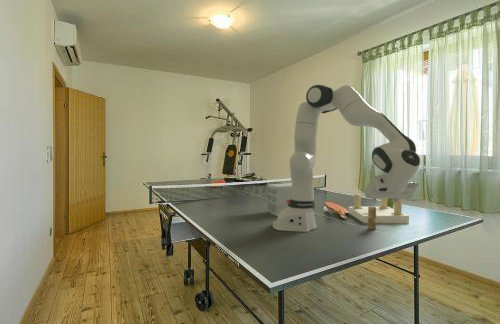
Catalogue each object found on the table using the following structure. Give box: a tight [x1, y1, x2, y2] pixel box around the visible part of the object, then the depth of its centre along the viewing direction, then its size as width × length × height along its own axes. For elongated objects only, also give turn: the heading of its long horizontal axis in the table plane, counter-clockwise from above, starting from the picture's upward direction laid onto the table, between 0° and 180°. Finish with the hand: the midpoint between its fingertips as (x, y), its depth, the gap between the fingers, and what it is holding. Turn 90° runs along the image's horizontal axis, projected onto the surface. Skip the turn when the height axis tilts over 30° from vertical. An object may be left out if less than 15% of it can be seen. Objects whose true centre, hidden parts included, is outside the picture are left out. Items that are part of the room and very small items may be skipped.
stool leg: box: [367, 205, 377, 231], centre depth 138 cm, size 4×4×11 cm
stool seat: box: [347, 193, 410, 224], centre depth 160 cm, size 24×24×12 cm
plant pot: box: [379, 198, 394, 209], centre depth 179 cm, size 9×9×9 cm
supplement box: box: [267, 182, 292, 217], centre depth 172 cm, size 17×13×18 cm
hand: (383, 201), depth 125 cm, fingers open, 8 cm apart
